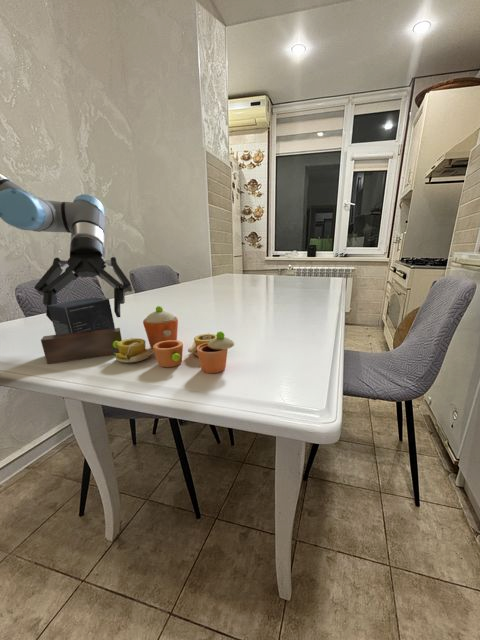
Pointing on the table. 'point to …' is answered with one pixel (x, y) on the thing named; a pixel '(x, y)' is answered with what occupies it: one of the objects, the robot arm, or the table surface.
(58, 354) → the block
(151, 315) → the toy tea set
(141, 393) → the table surface
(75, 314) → the box
